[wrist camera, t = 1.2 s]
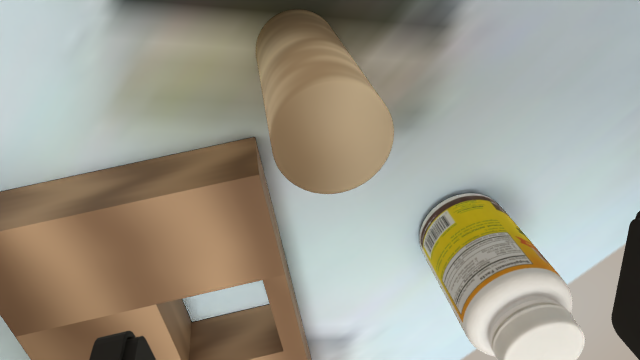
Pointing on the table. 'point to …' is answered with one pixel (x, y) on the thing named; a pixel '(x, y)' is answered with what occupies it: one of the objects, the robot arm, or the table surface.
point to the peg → (319, 106)
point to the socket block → (148, 259)
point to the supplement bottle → (499, 282)
